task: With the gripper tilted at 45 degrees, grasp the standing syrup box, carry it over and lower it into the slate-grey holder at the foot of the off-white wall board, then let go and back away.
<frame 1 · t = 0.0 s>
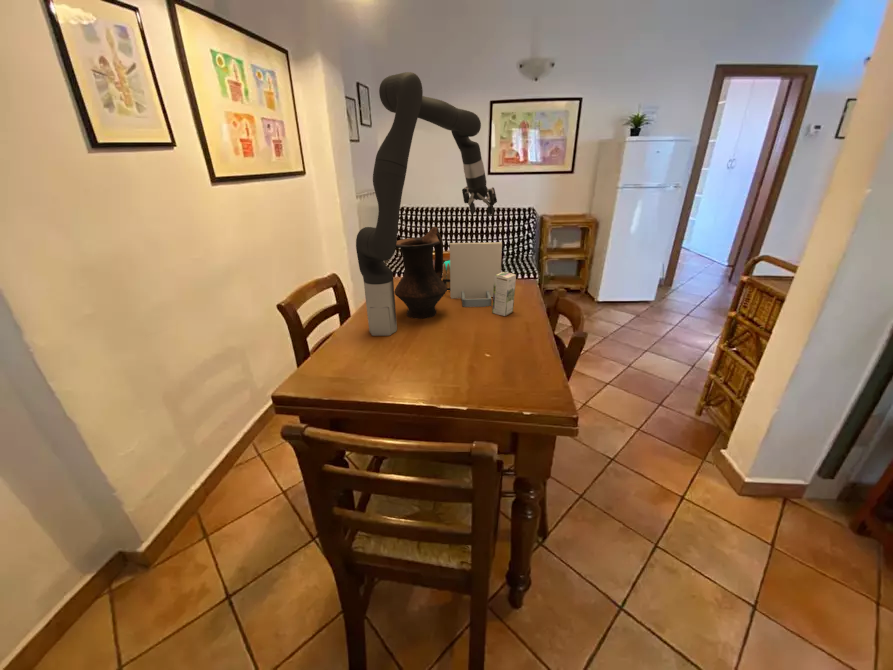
hand: (482, 213, 150), 31 cm above the table, tool tilted 20°, fingers open, 8 cm apart
ammunition clip: (454, 290, 161), on the table
syrup box: (502, 313, 137), on the table
jug: (424, 314, 137), on the table
donuts: (454, 283, 170), on the table
wall holder: (475, 301, 148), on the table
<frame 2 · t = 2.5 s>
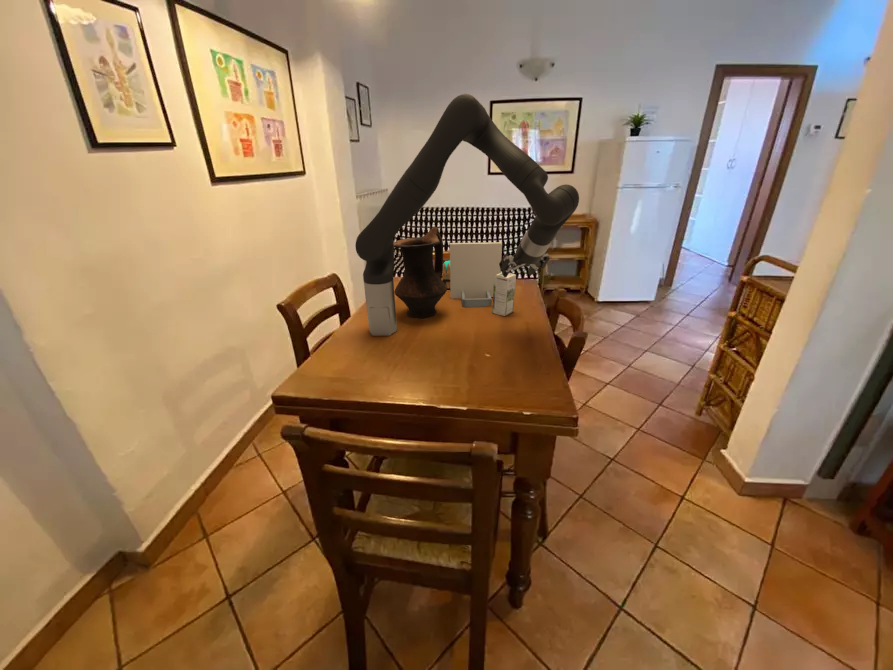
hand: (517, 273, 119), 18 cm above the table, tool tilted 45°, fingers open, 8 cm apart
nothing on the table moved.
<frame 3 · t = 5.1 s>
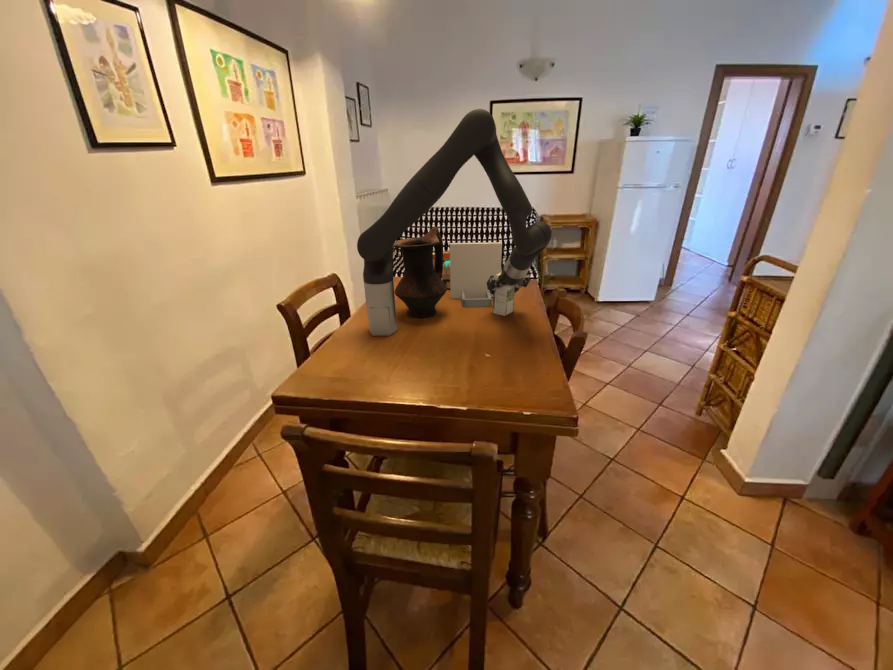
hand: (503, 291, 134), 8 cm above the table, tool tilted 45°, fingers open, 8 cm apart
nothing on the table moved.
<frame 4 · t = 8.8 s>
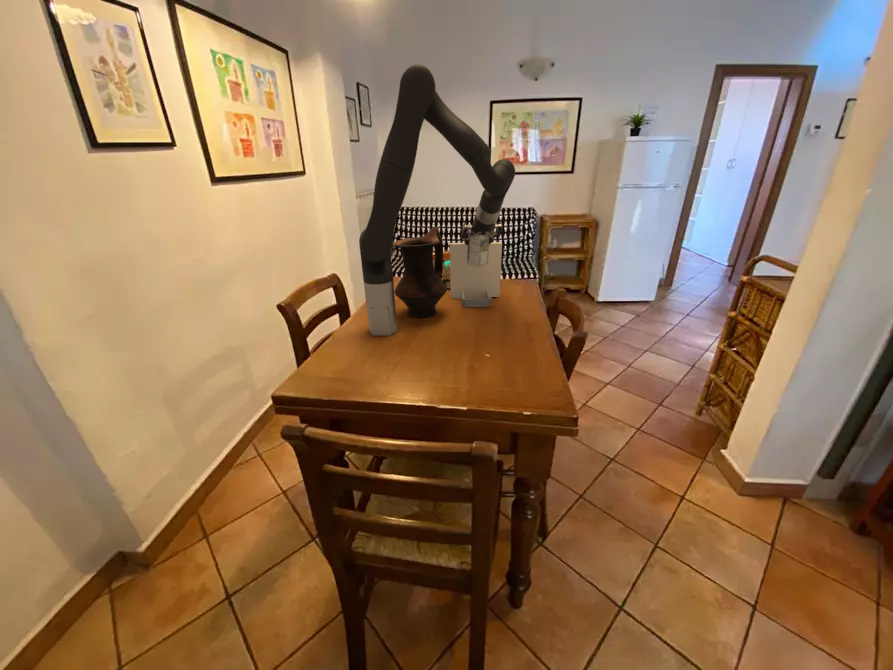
hand: (477, 242, 138), 23 cm above the table, tool tilted 45°, fingers closed on syrup box, 8 cm apart
syrup box: (477, 264, 140), point 15 cm above the table, touching gripper
everything else where it was.
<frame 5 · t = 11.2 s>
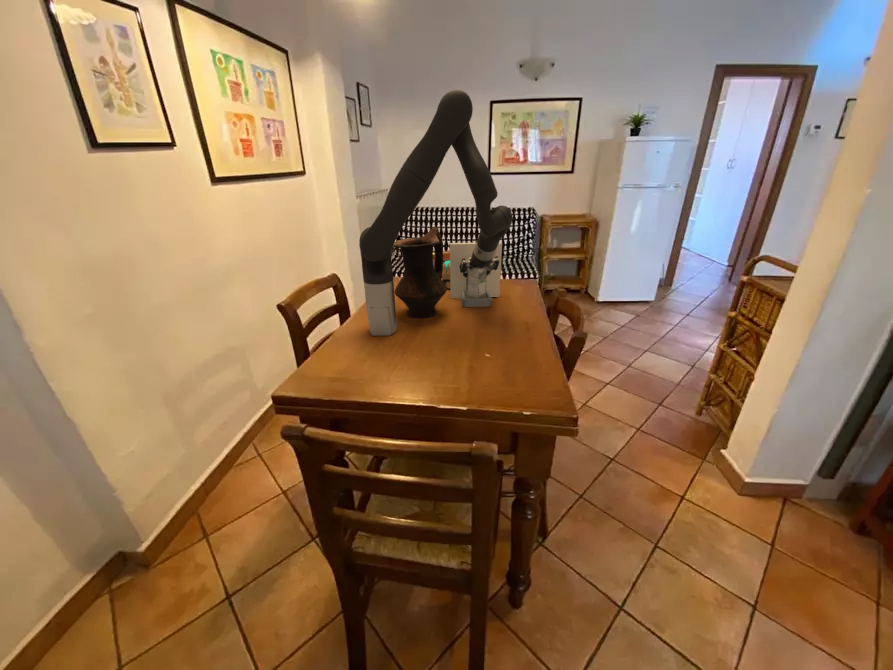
hand: (475, 274, 144), 11 cm above the table, tool tilted 45°, fingers closed on syrup box, 8 cm apart
syrup box: (476, 295, 146), point 3 cm above the table, touching gripper
everything else where it was.
when the fingers open (9 cm above the table, at t = 12.9 s): syrup box stays where it is, resting in wall holder.
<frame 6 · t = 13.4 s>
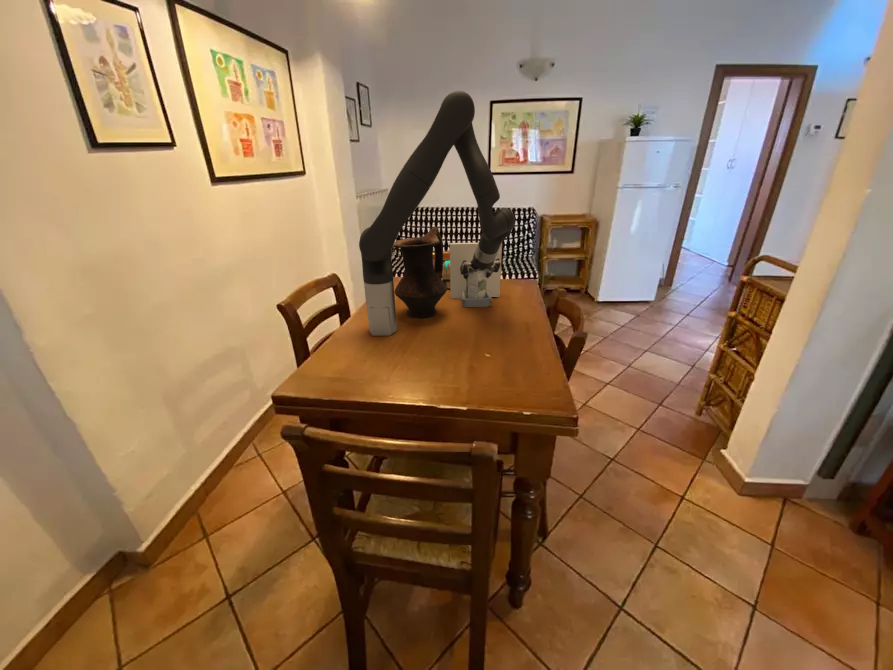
hand: (476, 276, 143), 10 cm above the table, tool tilted 45°, fingers open, 8 cm apart
syrup box: (476, 302, 148), resting in wall holder, touching gripper
everything else where it was.
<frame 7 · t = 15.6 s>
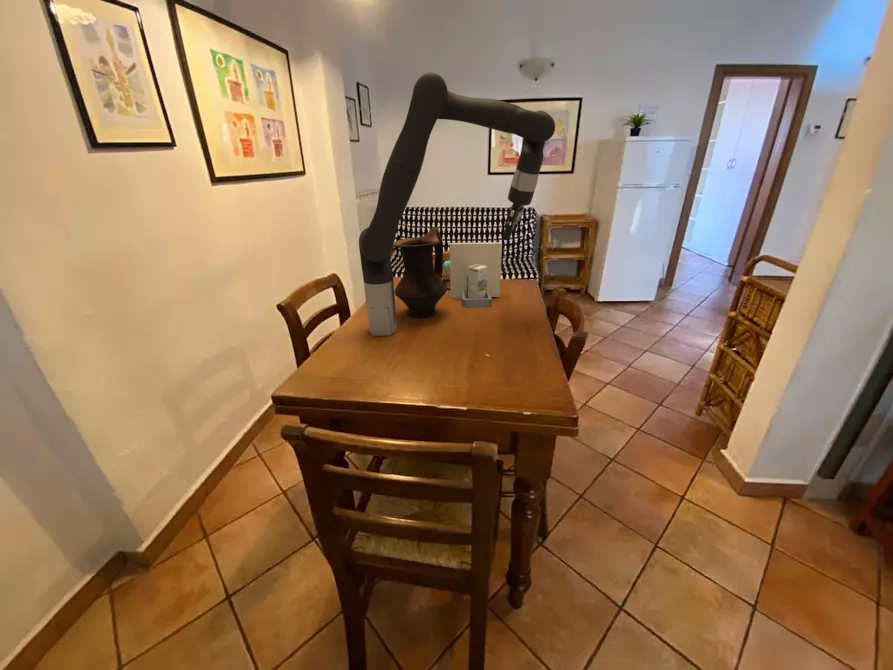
hand: (509, 235, 124), 28 cm above the table, tool tilted 15°, fingers open, 8 cm apart
syrup box: (476, 302, 148), resting in wall holder
everything else where it was.
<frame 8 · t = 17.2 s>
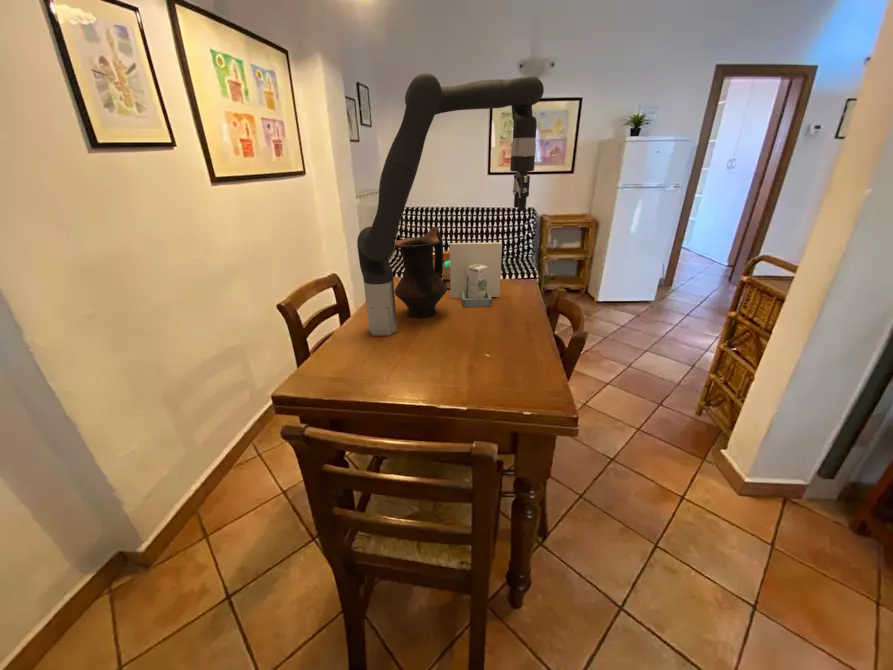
hand: (519, 209, 123), 36 cm above the table, tool pointing down, fingers open, 8 cm apart
nothing on the table moved.
at the end: syrup box 0.2 cm off-centre on the wall holder, point 0.0 cm above the wall holder's base; syrup box tilted 0°; the gripper is holding nothing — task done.
